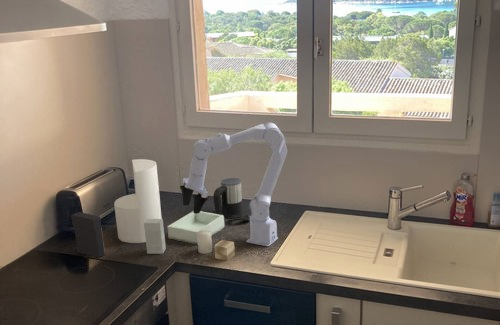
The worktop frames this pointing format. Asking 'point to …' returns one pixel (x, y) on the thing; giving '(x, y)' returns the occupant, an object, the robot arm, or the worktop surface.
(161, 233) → the skincare box
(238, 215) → the milk frother
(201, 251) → the ivory cylinder
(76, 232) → the calculator
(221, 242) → the beech block
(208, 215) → the tote
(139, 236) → the white stepped cylinder
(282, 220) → the worktop surface
